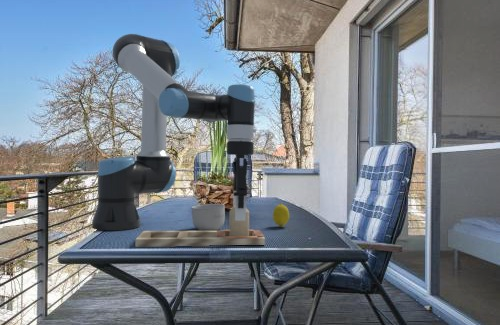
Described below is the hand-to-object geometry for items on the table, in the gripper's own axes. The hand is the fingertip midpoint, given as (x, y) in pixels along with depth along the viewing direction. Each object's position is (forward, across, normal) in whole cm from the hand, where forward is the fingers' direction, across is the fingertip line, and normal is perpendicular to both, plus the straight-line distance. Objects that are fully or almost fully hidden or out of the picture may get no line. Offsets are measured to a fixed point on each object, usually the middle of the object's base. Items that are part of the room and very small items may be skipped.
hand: (238, 216), depth 115 cm
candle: (+7, 0, 0) cm, 7 cm away
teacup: (+8, +20, +8) cm, 23 cm away
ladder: (+7, 0, +10) cm, 12 cm away
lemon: (+7, +23, -16) cm, 29 cm away
